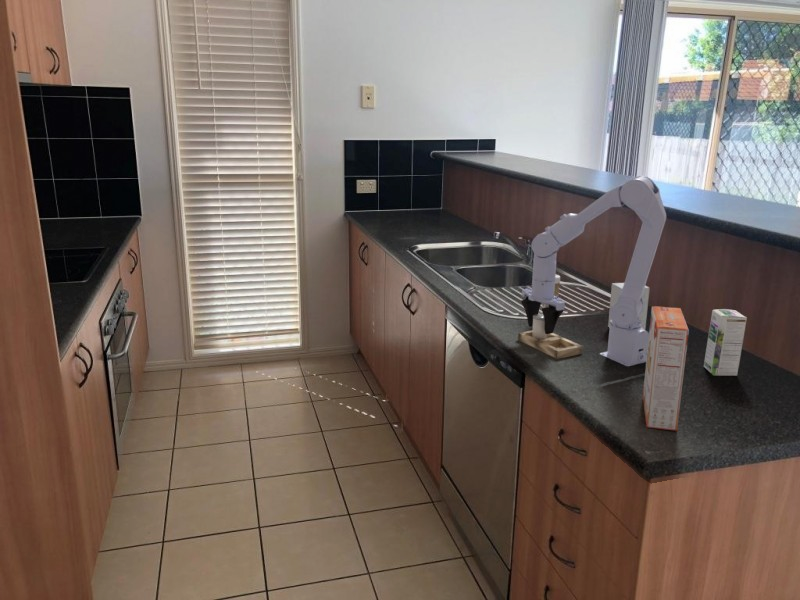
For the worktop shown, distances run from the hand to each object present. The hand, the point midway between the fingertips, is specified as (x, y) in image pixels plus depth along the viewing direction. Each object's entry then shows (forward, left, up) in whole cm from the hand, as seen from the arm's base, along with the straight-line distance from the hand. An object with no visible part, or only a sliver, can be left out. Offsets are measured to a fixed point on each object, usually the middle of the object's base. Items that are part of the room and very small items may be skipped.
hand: (540, 329), depth 171 cm
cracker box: (-44, +6, -4) cm, 44 cm away
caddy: (-4, 0, -4) cm, 5 cm away
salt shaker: (0, 0, -3) cm, 3 cm away
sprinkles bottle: (+14, -16, -4) cm, 22 cm away
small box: (-2, -28, -4) cm, 29 cm away
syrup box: (-34, -26, -4) cm, 43 cm away
